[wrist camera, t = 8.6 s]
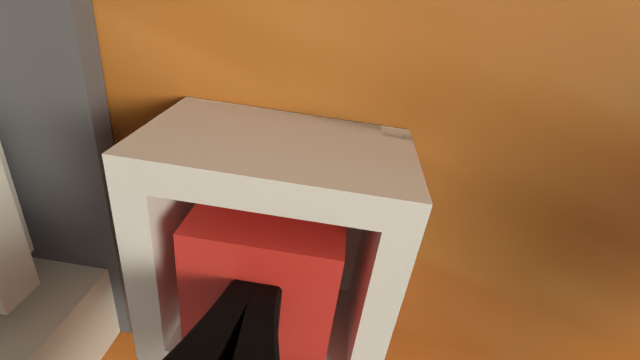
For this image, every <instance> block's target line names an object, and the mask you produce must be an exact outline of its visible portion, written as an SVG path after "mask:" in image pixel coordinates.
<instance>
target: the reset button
mask: <svg viewBox="0 0 640 360" xmlns="http://www.w3.org/2000/svg"><path fill="white" fill-rule="evenodd" d="M346 232H347V227H344V226H338V225H332V224H325V223H319V222H313V221H306V220H300V219H293V218H287V217H281V216H274V215H268V214H261V213H255V212H249V211H242V210H236V209H230V208H223V207H217V206H210V205H204V204H198V203H196V204H195V205H194V207H193V208H192V209H191V211H190V212H189V213H188V215H187V216H186V217H185V219H184V220H183V222H182V223H181V224H180V226H179V227H178V228H177V230H176V231H175V232H174V234H173V240H174V252H175V264H176V276H177V288H178V300H179V312H180V324H181V336H182V339H183V338H184V337H185V336H186V335H187V334H188V332H189V331H190V330H191V329H192V328H193V327H194V326H195V325H196V324H197V323H198V321H199V320H200V319H201V318H202V317H203V316H204V315H205V314H206V312H207V311H208V310H209V309H210V308H211V306H212V305H213V304H214V303H215V302H216V300H217V299H218V298H219V297H220V295H221V294H222V293H223V292H224V290H225V289H226V288H227V286H228V285H229V284H230V282H231V281H233V280H234V279H237V280H243V281H249V282H255V283H261V284H268V285H274V286H279V287H280V288H281V289H282V299H281V309H280V319H279V330H278V340H279V355H280V360H325V359H326V354H327V349H328V344H329V339H330V334H331V329H332V324H333V318H334V313H335V308H336V303H337V298H338V293H339V288H340V283H341V278H342V273H343V268H344V263H345V248H346Z"/></svg>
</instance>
